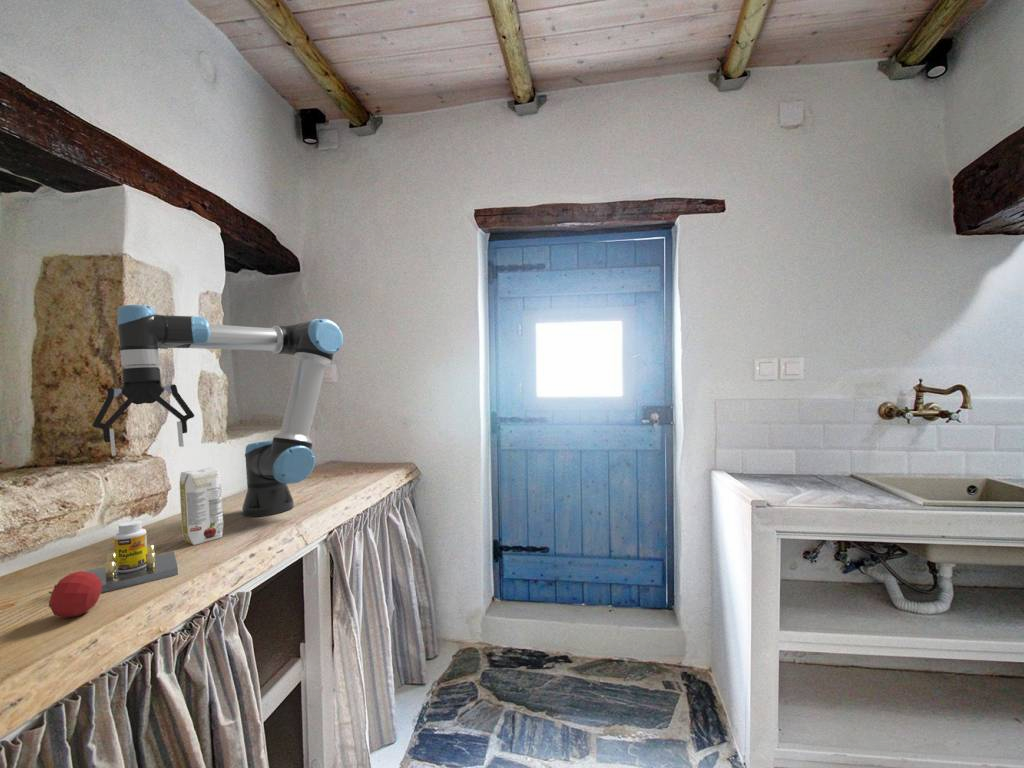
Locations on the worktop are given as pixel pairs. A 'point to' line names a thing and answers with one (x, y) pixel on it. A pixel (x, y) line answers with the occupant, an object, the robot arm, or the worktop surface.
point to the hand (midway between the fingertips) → (148, 450)
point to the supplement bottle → (130, 547)
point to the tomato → (75, 594)
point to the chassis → (152, 571)
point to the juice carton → (201, 505)
